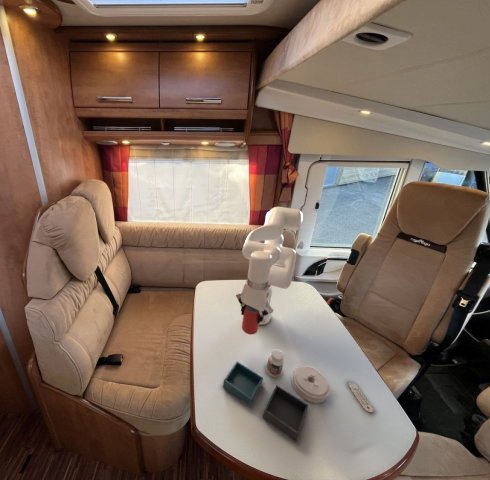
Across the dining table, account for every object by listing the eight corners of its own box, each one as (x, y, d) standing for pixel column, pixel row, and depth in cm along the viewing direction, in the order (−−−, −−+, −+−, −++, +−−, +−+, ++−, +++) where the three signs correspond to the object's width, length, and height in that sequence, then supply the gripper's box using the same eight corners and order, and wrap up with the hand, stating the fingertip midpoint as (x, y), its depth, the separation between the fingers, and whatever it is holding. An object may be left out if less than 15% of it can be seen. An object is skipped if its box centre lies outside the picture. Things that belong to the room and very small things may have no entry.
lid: (283, 377, 93) (286, 369, 91) (308, 367, 97) (311, 359, 95) (308, 409, 82) (311, 401, 80) (334, 397, 86) (338, 388, 84)
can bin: (274, 391, 88) (276, 384, 86) (305, 411, 82) (308, 404, 80) (262, 417, 80) (264, 410, 78) (296, 442, 74) (299, 435, 72)
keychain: (375, 411, 81) (367, 411, 81) (374, 412, 82) (366, 412, 81) (354, 381, 91) (347, 382, 91) (354, 382, 91) (346, 383, 91)
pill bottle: (263, 371, 95) (267, 354, 91) (270, 361, 99) (273, 345, 95) (277, 380, 92) (281, 363, 87) (283, 370, 95) (287, 353, 91)
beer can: (257, 336, 97) (261, 314, 91) (241, 334, 98) (244, 312, 92) (257, 324, 102) (260, 303, 97) (241, 322, 104) (244, 301, 98)
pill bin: (236, 367, 96) (236, 361, 94) (261, 384, 90) (263, 377, 88) (223, 386, 89) (223, 380, 87) (250, 406, 83) (251, 399, 81)
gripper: (283, 286, 87) (275, 321, 95) (241, 269, 97) (237, 303, 104) (275, 296, 82) (267, 333, 90) (232, 278, 91) (228, 312, 99)
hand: (251, 316), depth 97 cm, fingers closed on beer can, 6 cm apart
